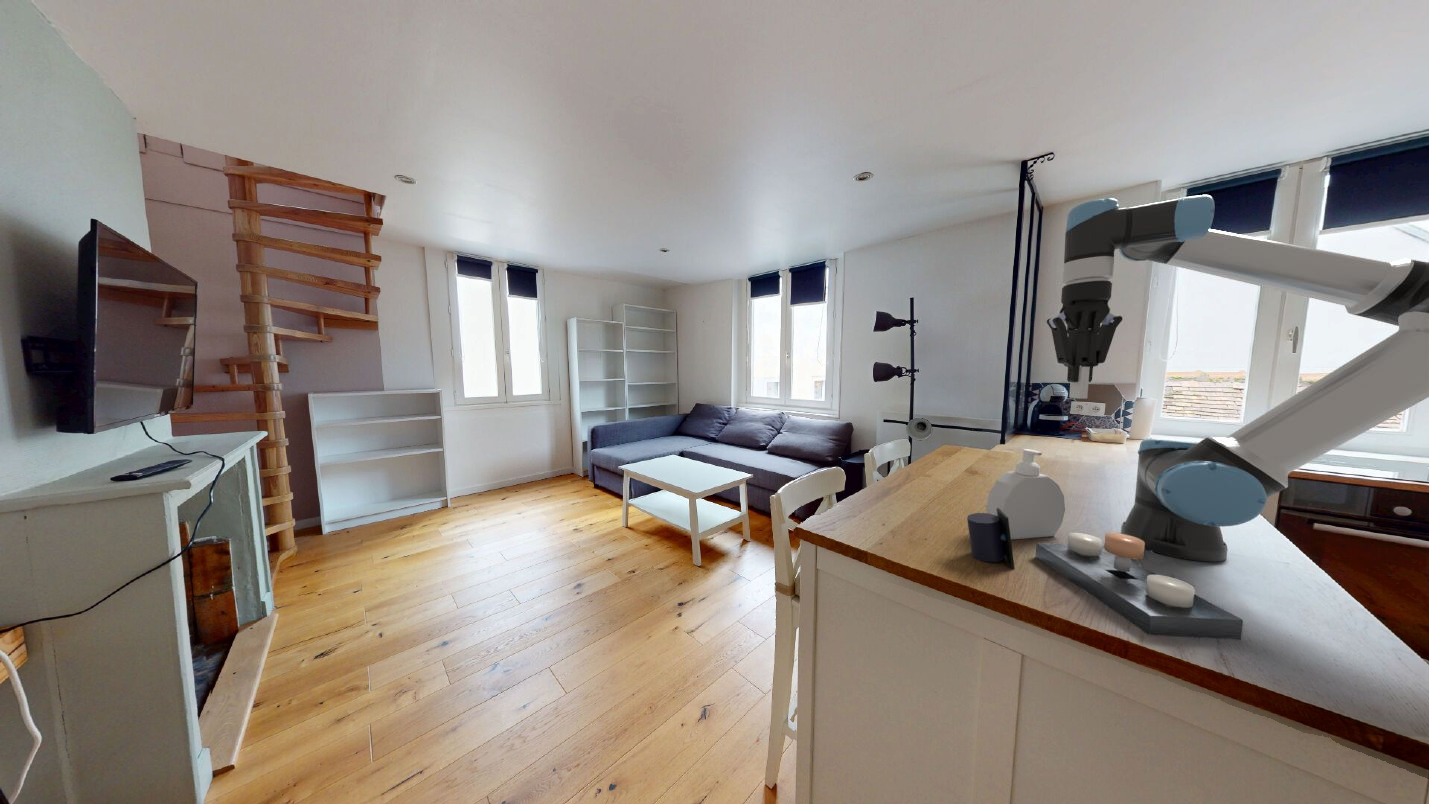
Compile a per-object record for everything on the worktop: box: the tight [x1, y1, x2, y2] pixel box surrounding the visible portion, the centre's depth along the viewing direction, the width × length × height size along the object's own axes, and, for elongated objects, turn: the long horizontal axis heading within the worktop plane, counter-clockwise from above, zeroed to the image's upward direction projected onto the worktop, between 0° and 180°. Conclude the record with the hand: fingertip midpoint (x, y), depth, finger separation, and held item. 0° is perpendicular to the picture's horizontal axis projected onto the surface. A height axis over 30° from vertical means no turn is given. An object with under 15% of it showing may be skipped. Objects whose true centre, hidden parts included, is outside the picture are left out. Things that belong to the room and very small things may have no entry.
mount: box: [1035, 542, 1244, 640], centre depth 70 cm, size 12×24×3 cm, turn 174°
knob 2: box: [1146, 574, 1195, 608], centre depth 62 cm, size 5×5×6 cm
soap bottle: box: [986, 448, 1066, 541], centre depth 92 cm, size 16×5×20 cm, turn 98°
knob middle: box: [1103, 532, 1145, 572], centre depth 69 cm, size 5×5×6 cm
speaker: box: [966, 508, 1015, 570], centre depth 82 cm, size 8×6×10 cm
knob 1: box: [1067, 532, 1103, 557], centre depth 78 cm, size 5×5×6 cm
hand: (1078, 397), depth 84 cm, fingers closed
